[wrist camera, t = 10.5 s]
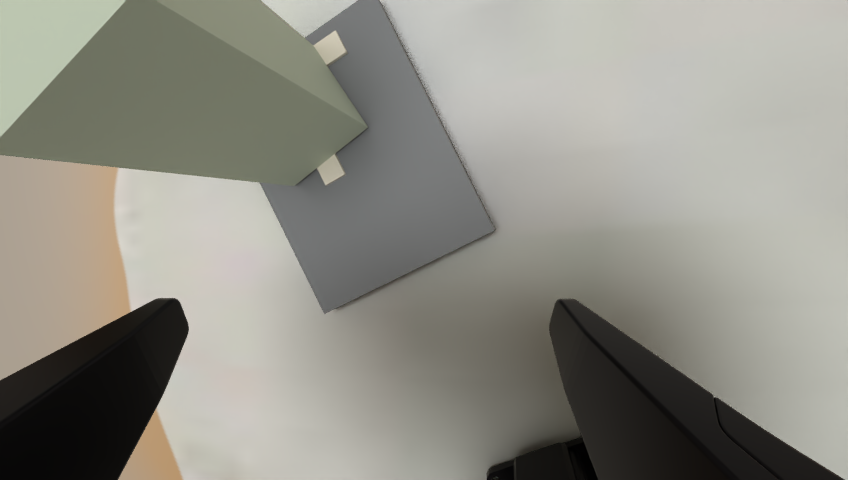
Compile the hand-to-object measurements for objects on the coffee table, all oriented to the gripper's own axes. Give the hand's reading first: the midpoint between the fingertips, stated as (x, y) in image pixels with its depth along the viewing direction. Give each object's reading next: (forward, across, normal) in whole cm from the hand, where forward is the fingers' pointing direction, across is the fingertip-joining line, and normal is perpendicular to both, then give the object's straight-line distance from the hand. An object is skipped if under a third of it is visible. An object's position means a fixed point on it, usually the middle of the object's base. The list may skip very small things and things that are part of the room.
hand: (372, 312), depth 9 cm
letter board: (+13, +2, +1) cm, 13 cm away
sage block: (+13, +4, -2) cm, 14 cm away
